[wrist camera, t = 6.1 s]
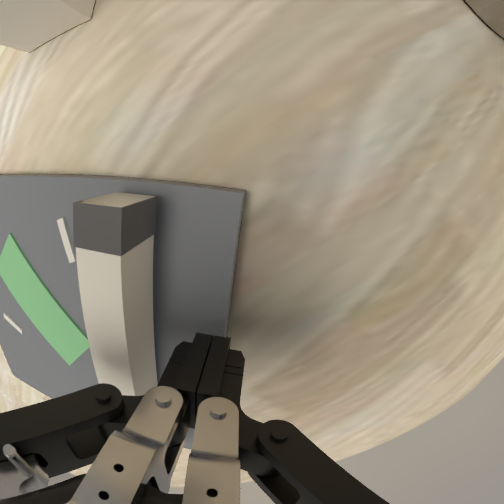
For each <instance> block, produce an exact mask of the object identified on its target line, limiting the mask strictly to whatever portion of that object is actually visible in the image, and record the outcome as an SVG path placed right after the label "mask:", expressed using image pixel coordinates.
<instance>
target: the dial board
mask: <svg viewBox="0 0 504 504" xmlns="http://www.w3.org/2000/svg"><path fill="white" fill-rule="evenodd" d="M113 192H121V193H132V194H142V195H151V196H158V203H157V217H156V234H154V246H153V323H154V345H155V360H156V372H157V383H159V381H160V378H161V376H162V374H163V372H164V370H165V368H166V366H167V364H168V362H169V359H170V357H171V356H172V353H173V351H174V349H175V347H176V346H177V345H179V344H180V343H181V342H183V341H186V342H191V343H192V342H193V340H194V337H195V335H196V333H197V332H198V333H204V334H209V335H213V337H214V335H216V336H222V337H226V334H227V326H228V318H229V310H230V302H231V295H232V287H233V280H234V272H235V265H236V257H237V250H238V243H239V235H240V228H241V221H242V214H243V207H244V200H245V193H246V190H240V189H233V188H226V187H218V186H210V185H202V184H193V183H184V182H175V181H165V180H154V179H142V178H130V177H115V176H98V175H75V174H0V344H1V347H2V350H3V352H4V355H5V357H6V359H7V362H8V364H9V366H10V369H11V371H12V373H13V375H14V376H16V377H17V378H19V379H20V380H22V381H24V382H25V383H27V384H28V385H30V386H32V387H33V388H35V389H37V390H38V391H40V392H42V393H44V394H45V395H47V396H49V397H51V398H53V399H54V398H57V397H60V396H63V395H67V394H70V393H73V392H76V391H79V390H82V389H85V388H88V387H90V386H93V385H96V384H99V383H98V379H97V376H96V372H95V368H94V364H93V360H92V356H91V352H90V347H89V343H88V338H87V333H86V328H85V322H84V317H83V310H82V304H81V297H80V289H79V280H78V271H77V259H76V247H74V237H73V202H77V201H80V200H84V199H88V198H92V197H96V196H101V195H105V194H109V193H113ZM194 431H195V429H193V428H188V431H187V434H186V438H185V444H184V446H183V448H187V449H192V444H193V438H194Z"/></svg>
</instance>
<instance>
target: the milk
mask: <svg viewBox="0 0 504 504" xmlns="http://www.w3.org/2000/svg"><path fill="white" fill-rule="evenodd" d="M94 3H95V0H0V45H4V46H7V47H11V48H15V49H18V50H21V51H25V52H28V53H30V52H31V51H33V50H35V49H36V48H38V47H39V46H41V45H43V44H44V43H46V42H48V41H49V40H51V39H53V38H55V37H56V36H58V35H60V34H62V33H64V32H66V31H68V30H69V29H71V28H73V27H75V26H77V25H80V24H82V23H84V22H86V21H88V20H90V19H91V16H92V12H93V7H94Z"/></svg>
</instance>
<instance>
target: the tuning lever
mask: <svg viewBox="0 0 504 504" xmlns="http://www.w3.org/2000/svg"><path fill="white" fill-rule="evenodd" d="M157 203H158V196H151V195H142V194H132V193H121V192H113V193H109V194H105V195H101V196H96V197H92V198H88V199H84V200H80V201H77V202H73V237H74V247H76V259H77V271H78V280H79V289H80V297H81V304H82V310H83V317H84V322H85V328H86V333H87V338H88V343H89V347H90V352H91V356H92V360H93V364H94V368H95V372H96V376H97V379H98V383H99V384H101V383H106V384H111V385H114V386H115V387H117V388H118V389H119V390H120V392H121V394H122V395H127V396H141V395H145V393H146V392H147V391H148V390H149V389H151V388H153V387H157V385H158V383H157V372H156V360H155V345H154V323H153V246H154V234H156V217H157Z"/></svg>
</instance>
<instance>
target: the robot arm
mask: <svg viewBox="0 0 504 504" xmlns="http://www.w3.org/2000/svg"><path fill="white" fill-rule="evenodd" d="M465 1H466V2H467V4H468V5H469V6H470V7H471V8H472V9H473V10H474V11H475V13H476V14H477V15H478V16H479V17H480V18H481V19H482V20H483V21H484V22H485V23H486V24H487V25H488V26H489V27H491V28H492V29H493V30H494V31H495V32H496V33H497V34H499V35H500V36H501V37H502V38H504V0H465ZM230 341H231V338H228V337H222V336H216V335H214V337H213V335H209V334H204V333H198V332H197V333H196V335H195V337H194V340H193V342H192V343H191V342H186V341H183V342H181V343H180V344H179V345H177V346H176V347H175V349H174V351H173V353H172V356H171V357H170V359H169V362H168V364H167V366H166V368H165V370H164V372H163V374H162V376H161V378H160V381H159V383H158V385H157V387H153V388H151V389H149V390H148V391H147V392H146V393H145V395H141V396H127V395H122V394H121V392H120V390H119V389H118V388H117V387H115V386H114V385H111V384H106V383H101V384H96V385H93V386H90V387H88V388H85V389H82V390H79V391H76V392H73V393H70V394H67V395H63V396H60V397H57V398H54V399H51V400H47V401H44V402H41V403H37V404H34V405H30V406H27V407H23V408H19V409H16V410H12V411H8V412H4V413H0V504H240V469H243V470H245V471H248V474H249V475H250V477H251V478H252V479H253V480H254V481H255V482H256V483H257V484H258V486H260V488H261V489H262V490H263V491H264V492H265V493H266V494H267V495H268V496H269V497H270V498H271V499H272V501H274V503H275V504H389V503H388V502H386V501H385V500H384V499H382V498H381V497H379V496H378V495H377V494H375V493H374V492H372V491H371V490H370V489H368V488H367V487H366V486H364V485H363V484H362V483H361V482H359V481H358V480H357V479H355V478H354V477H353V476H352V475H350V474H349V473H347V471H345V470H344V469H343V468H342V467H340V466H339V465H338V464H337V463H336V462H334V461H333V460H332V459H331V458H330V457H328V456H327V455H326V454H325V453H324V452H323V451H322V450H320V449H319V448H318V447H317V446H316V445H315V444H314V443H312V442H311V441H310V440H309V439H308V438H307V437H306V436H305V435H304V434H303V433H301V432H300V431H299V430H298V429H297V428H296V427H295V426H294V425H293V424H291V423H289V422H287V421H283V420H271V421H268V422H266V423H261V422H258V421H255V420H253V419H251V418H249V417H248V416H247V415H245V414H244V412H243V411H242V410H241V407H240V396H241V387H242V379H243V371H244V362H245V358H244V356H243V354H242V352H241V351H238V350H231V349H230ZM188 428H193V429H195V431H194V438H193V444H192V450H191V453H190V455H189V459H188V465H187V472H186V479H185V486H184V493H183V494H168V492H169V488H170V481H171V477H172V474H173V472H174V469H175V467H176V464H177V462H178V459H179V456H180V454H181V451H182V449H183V446H184V444H185V438H186V434H187V431H188ZM92 463H93V464H92ZM89 464H92V466H91V467H90V469H89V470H88V472H87V474H82V475H79V476H76V477H73V478H71V479H68V480H65V481H63V482H60V483H57V484H54V485H51V486H48V481H49V478H51V477H54V476H57V475H60V474H63V473H67V472H69V471H72V470H75V469H78V468H81V467H84V466H86V465H89Z"/></svg>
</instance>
